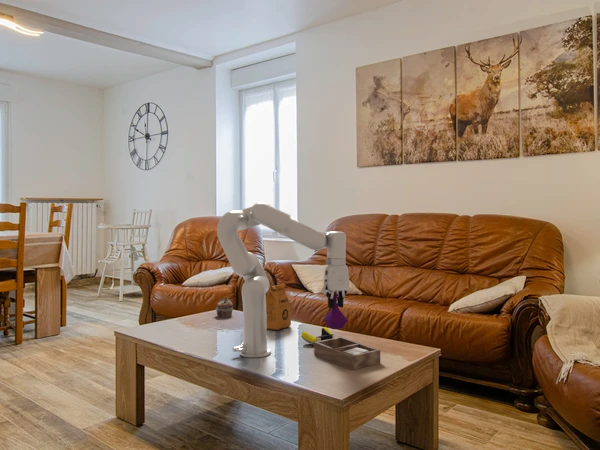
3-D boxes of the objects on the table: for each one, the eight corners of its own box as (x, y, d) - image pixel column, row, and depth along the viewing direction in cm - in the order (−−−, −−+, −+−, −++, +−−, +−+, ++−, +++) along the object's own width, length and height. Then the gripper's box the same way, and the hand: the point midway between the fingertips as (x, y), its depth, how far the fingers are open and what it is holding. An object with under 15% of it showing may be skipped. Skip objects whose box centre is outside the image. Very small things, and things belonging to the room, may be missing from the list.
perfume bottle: (322, 326, 193) (322, 282, 193) (339, 324, 196) (339, 281, 196) (331, 330, 186) (331, 285, 186) (348, 328, 189) (347, 283, 189)
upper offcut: (354, 361, 177) (354, 354, 177) (342, 358, 181) (342, 351, 181) (368, 357, 182) (368, 350, 182) (357, 353, 186) (356, 347, 186)
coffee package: (294, 327, 240) (293, 284, 239) (276, 332, 230) (276, 287, 230) (279, 324, 246) (279, 282, 246) (262, 329, 237) (261, 285, 236)
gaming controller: (299, 343, 210) (314, 348, 202) (299, 331, 209) (314, 335, 202) (325, 338, 219) (340, 342, 211) (324, 326, 219) (339, 330, 211)
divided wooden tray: (351, 370, 173) (351, 356, 173) (314, 354, 193) (314, 342, 193) (380, 363, 181) (380, 350, 181) (341, 348, 201) (341, 336, 201)
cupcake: (228, 313, 275) (228, 296, 275) (235, 316, 267) (235, 298, 267) (213, 315, 270) (213, 298, 270) (220, 318, 262) (219, 300, 262)
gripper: (325, 264, 183) (324, 311, 183) (358, 262, 192) (357, 307, 193) (313, 262, 189) (313, 308, 190) (346, 260, 198) (346, 304, 199)
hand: (335, 307), depth 191 cm, fingers closed on perfume bottle, 3 cm apart
